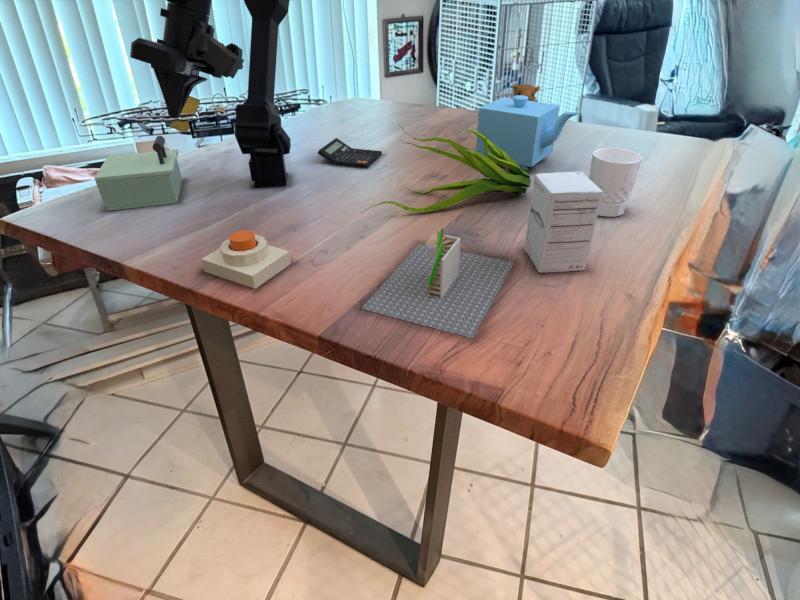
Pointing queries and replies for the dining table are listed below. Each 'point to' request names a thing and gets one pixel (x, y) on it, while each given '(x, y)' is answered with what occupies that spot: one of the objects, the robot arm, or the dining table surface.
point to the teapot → (521, 128)
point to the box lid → (139, 163)
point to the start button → (242, 240)
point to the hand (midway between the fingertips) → (173, 117)
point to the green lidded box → (141, 191)
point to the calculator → (348, 155)
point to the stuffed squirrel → (526, 91)
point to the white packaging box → (562, 221)
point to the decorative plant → (482, 164)
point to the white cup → (614, 178)
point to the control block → (247, 263)
